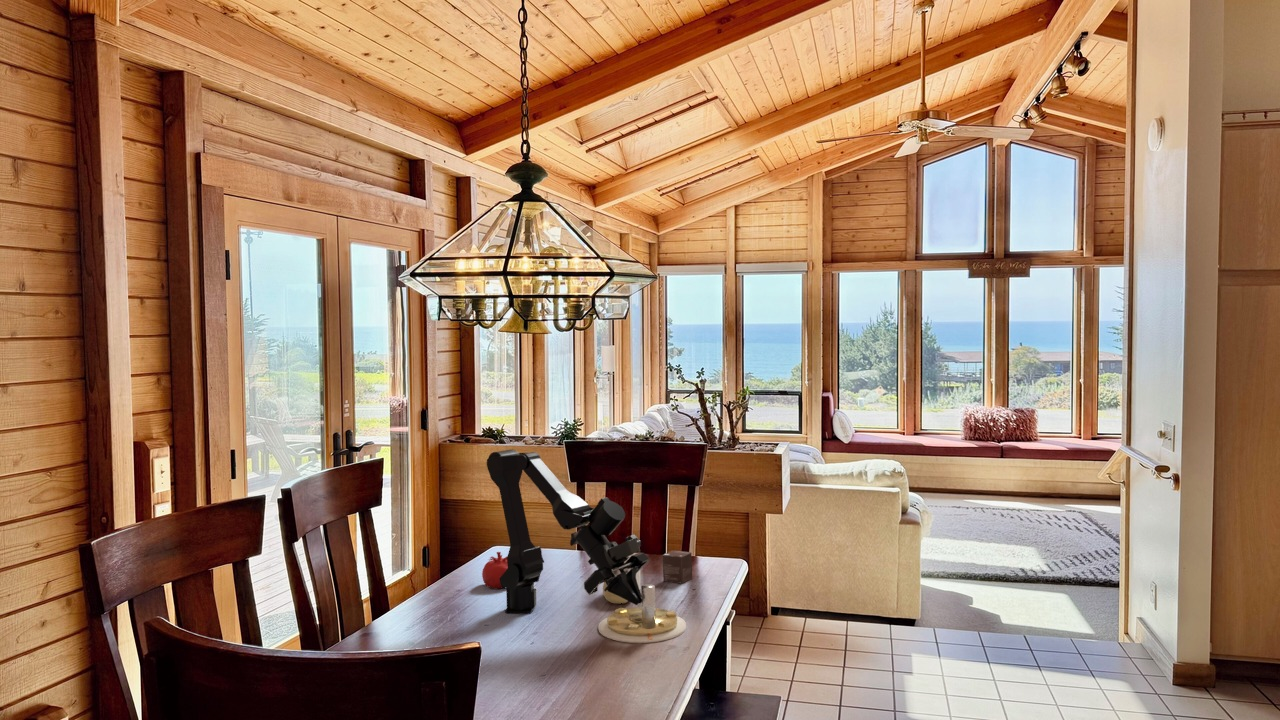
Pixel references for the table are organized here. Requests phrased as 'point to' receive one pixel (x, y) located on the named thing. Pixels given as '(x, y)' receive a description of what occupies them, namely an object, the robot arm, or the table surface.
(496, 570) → the pomegranate
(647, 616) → the brass lugged disc
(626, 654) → the table surface
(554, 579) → the table surface
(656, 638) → the base plate
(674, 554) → the box
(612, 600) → the apple
